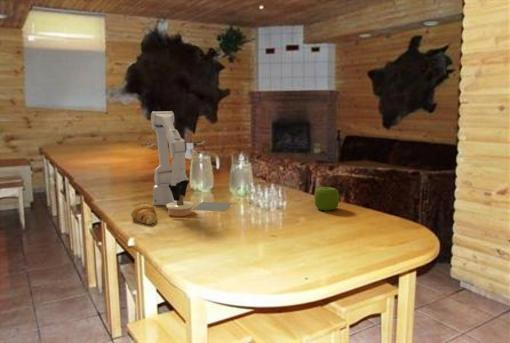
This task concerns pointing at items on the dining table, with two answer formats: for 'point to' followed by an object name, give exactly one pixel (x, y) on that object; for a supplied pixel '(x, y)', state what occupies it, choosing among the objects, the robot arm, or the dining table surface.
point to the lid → (180, 204)
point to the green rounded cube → (326, 198)
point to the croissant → (144, 214)
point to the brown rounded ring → (180, 212)
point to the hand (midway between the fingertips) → (179, 198)
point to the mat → (212, 206)
